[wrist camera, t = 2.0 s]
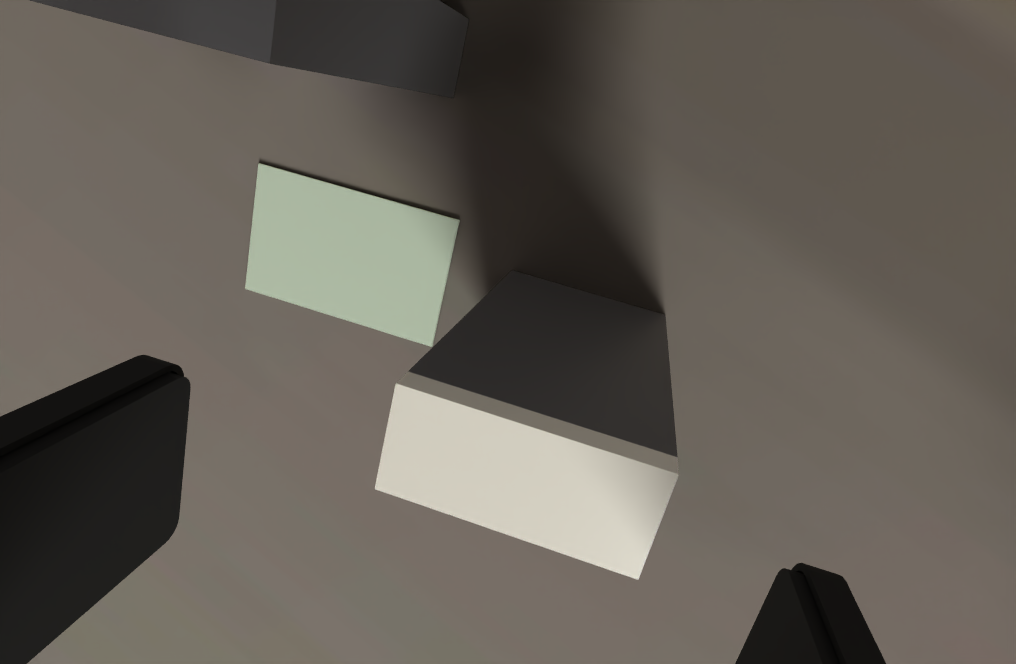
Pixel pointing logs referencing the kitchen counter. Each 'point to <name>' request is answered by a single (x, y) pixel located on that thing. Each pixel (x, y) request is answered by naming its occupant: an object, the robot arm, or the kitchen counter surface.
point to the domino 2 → (542, 423)
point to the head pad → (349, 254)
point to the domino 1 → (311, 34)
